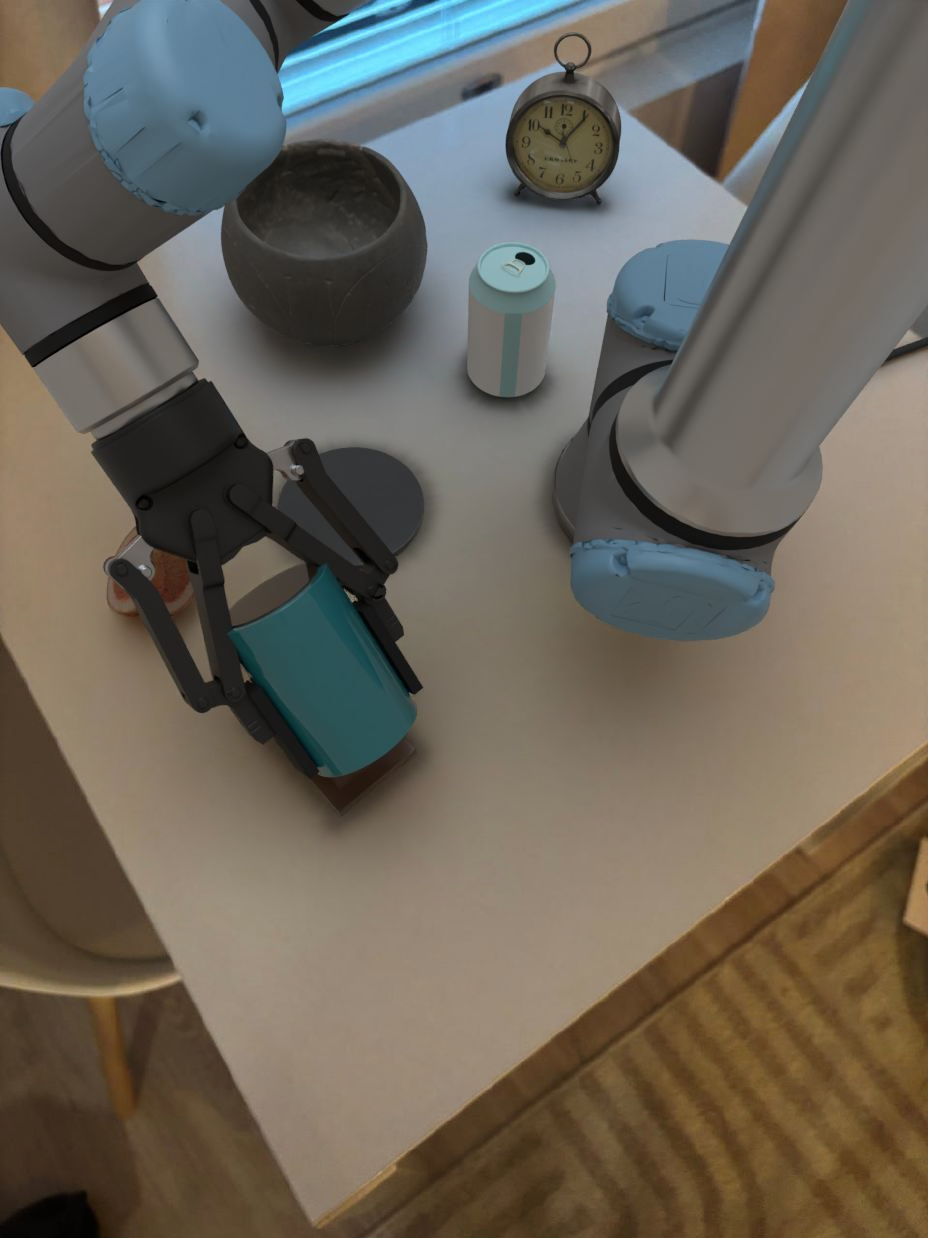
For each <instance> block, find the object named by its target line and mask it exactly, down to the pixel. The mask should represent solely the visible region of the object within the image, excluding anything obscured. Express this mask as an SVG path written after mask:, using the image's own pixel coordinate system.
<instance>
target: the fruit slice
mask: <svg viewBox="0 0 928 1238" xmlns="http://www.w3.org/2000/svg"><path fill="white" fill-rule="evenodd" d="M137 536H138V534H137V531H136V525H135V526H133V528H132V529H131V530H130V532H128V534H126V536H125V538H124V539H123V540H122V542H121V544H119V545H120V546H119V547H118V548H117V551H116V554H115V555H114V556H117V555H118V554H119V553H120V552H121V551H122V550H123V549H124V548H125V547H126V546H127V545H128V544H129V543H130V542H131V541H133V540H134V539H135V538H136V537H137ZM150 559H151V562H152V564H153V566H154V567H155V575H154V577H153V578H152V580H151V581H150V582H151V583H152V584H153V585H154V586H155V588H156V589H157V590H158V592H159V594H160V595H161V597H162V599H163V601H164V603H165V605H166V607H167V609H168V611H169V613H170V615H171V617H173V616H175V615H177V614H178V613H180V612H181V611H182V610H184V609H185V608H186V607H187V606H188V605H189V604H190V602H191V601H192V599H193V598H194V597H195V595H194V591H193V587H192V584H191V582H190V580H189V576H188V572H187V567H186V562H185V559H183V558H180V557H177V556H174V555H171V554H169V553H166V552H163V551H160V550H157V549H153V551H152V552H151V555H150ZM106 602H107V606H108V607H109V609H111V611H113V612H114V613H116V614H119V615H123V616H125V617H129V618H133V619H138V620H142V619H141V617H140V615H139V613H138V611H137V609H136V607H135V605H134V603H133V601H132V599H131V597H130V596H129V594H127V593H126V592H125V591H124V590H123V589H122V588H121V587H120V586H119V585H117V584H116V583H115V582H114V581H113V580H112V579H111V578H110V577H109V576H107V583H106Z"/></svg>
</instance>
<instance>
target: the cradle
mask: <svg viewBox="0 0 928 1238" xmlns="http://www.w3.org/2000/svg"><path fill="white" fill-rule="evenodd" d="M272 739H273V740H274V741H275V739H274V738H272ZM416 754H417V748H416V747H415V746H414V744H412V743H411V742H410V740H408V739H407V737H406V735H405V736H404V737H403V738H402V740H401V741H400V742H399V743H398V744H396V745H395V746H394V747H393V748H392V749H391V750H390V751H388V752H387V753H386V754H385V755H383V756H382V757H380V758H379V759H377V760H376V761H374V762H373V763H371V764H369V765H367V766H365V767H364V768H362V769H359V770H357V771H355V772H352V773H349V774H346V775H343V776H338V777H324V776H321V775H319V774H316V775H315V776H314V777H312V778H311V779H309V778H307V779H308V780H309V782H310V783H311V784H312V786H313V787H314V788H315V789H316V790H317V792H319V793H320V794H321V796H322V797H323V798H324V799H325V801H327V803H328V804H329V805H330V806H331V808H333V810H334V811H335V812H336V813H337V814H338V815H339V816H340V817H342V816H343V815H344V814H345V813H347V812H348V811H349V810H350V809H351V808H352V807H354V806H355V805H356V804H357V803H358V802H360V801H361V800H363V798H365V797H366V796H367V795H368V794H369V793H371V792H372V791H373V790H374V789H375V788H377V787H378V786H379V785H380V784H381V783H383V782H385V780H386V779H387V778H389V777H390V776H391V775H392V774H393V773H395V772H396V771H397V770H398V769H399V768H401V767H402V766H403V765H404V764H405V763H407V762H408V761H409V760H410V759H411V758H413V757H414V756H415V755H416Z"/></svg>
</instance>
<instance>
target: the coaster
mask: <svg viewBox="0 0 928 1238" xmlns="http://www.w3.org/2000/svg"><path fill="white" fill-rule="evenodd" d="M319 456H320V459H321V461H322V464H323V467H324V469H325V472H326V474H327V475H328V476H329V477H330V478H331V480H332V481H333V482H334V483H335V484H336V486H337V487H338V488H339V489H340V491H341V492H342V493H343V494H344V495H345V497H346V498H347V499H348V500H349V501H350V503H351V504H352V505H353V506H354V508H355V509H356V510H357V511H358V512H359V514H360V515H361V516H362V517H363V518H364V520H365V521H366V522H367V523H368V525H369V526H370V527H371V528H372V529H373V531H374V532H375V533H376V534H377V535H378V537H379V538H380V539H381V540H382V542H383V543H384V544H385V545H386V546H387V548H388V549H389V550H390V551H391V552H392V554H393V555H394V556H395V557H397V555H399V554H400V553H401V552H403V551H404V550H405V549H406V548H408V546H409V545H410V544H411V543H412V541H413V540H414V539H415V537H416V536H417V534H418V532H419V531H420V528H421V525H422V523H423V520H424V513H425V500H424V493H423V490H422V487H421V485H420V482H419V480H418V479H417V477H416V476H415V474H414V472H413V471H412V470H411V469H410V468H409V467H408V466H407V465H406V464H404V463H403V462H402V461H401V460H400V459H397V458H396V457H394V455H393V456H392V455H390V454H389V453H386V452H383V451H381V450H378V449H373V448H369V447H360V446H356V447H355V446H354V447H353V446H351V447H340V448H335V449H331V450H327V451H324V452H321V453H320V454H319ZM277 509H278V510H279V511H281V512H282V513H283V514H285V515H286V516H288V517H289V518H290V519H292V520H293V521H295V522H296V524H297V525H298V526H299V527H301V528H302V529H303V530H305V531H306V532H308V533H309V534H311V535H312V536H313V537H315V538H316V539H318V540H319V541H320V542H322V543H323V544H325V545H326V546H327V547H329V548H330V549H332V550H333V551H334V552H336V553H337V554H339V555H340V556H342V557H343V558H344V559H346V560H347V561H349V562H350V563H351V564H353V565H354V566H356V567H357V568H358V569H360V570H362V568H363V567H364V566H365V565H364V564H363V563H362V562H361V561H360V559H359V558H358V557H357V556H356V555H355V553H354V552H353V551H352V550H351V549H350V548H349V546H348V545H347V544H346V543H345V542H344V540H343V539H342V538H341V537H340V536H339V535H338V533H337V532H336V531H335V530H334V529H333V527H332V526H331V525H330V524H329V523H328V522H327V520H326V519H325V518H324V517H323V516H322V514H321V513H320V512H319V511H318V510H317V509H316V507H315V506H314V505H313V504H312V503H311V501H310V500H309V499H308V498H307V497H306V496H305V494H304V493H303V492H302V491H301V489H300V488H299V487H298V485H297V483H296V482H295V481H289V480H287V479H286V481H285V483H284V484H283V486H282V489H281V491H280V493H279V497H278V501H277Z"/></svg>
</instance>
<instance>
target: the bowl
mask: <svg viewBox="0 0 928 1238" xmlns="http://www.w3.org/2000/svg"><path fill="white" fill-rule="evenodd" d="M220 246H221V254H222V258H223V259H222V260H223V263H224V267H225V270H226V273H227V276H228V278H229V281H230V284H231V287H233V289H234V292H235V293H236V295H237V297H238V298H239V299H240V300H241V302H242V304H243V305H244V306H245V308H246V309H247V310H248V311H249V312H250V313H251V314H252V315H253V316H254V317H255V318H256V319H257V320H258V321H260V322H261V323H262V324H264V325H265V326H266V327H268V328H269V329H271V330H272V331H273V332H276V333H277V334H278V335H281V336H283V337H285V338H287V339H290V340H293V341H295V342H298V343H302V344H306V345H311V346H318V347H338V346H345V345H346V346H347V345H351V344H354V343H359V342H361V341H364V340H367V339H368V338H371V337H373V336H374V335H376V334H379V333H380V332H381V331H383V330H384V329H386V328H387V327H389V326H390V325H391V324H392V323H394V322H395V320H397V318H399V317H400V316H401V314H402V313H403V312H404V311H405V310H406V309H407V307H408V306H409V305H410V304H411V303H412V301H413V299H414V297H415V295H416V294H417V292H418V290H419V289H420V286H421V283H422V280H423V277H424V273H425V270H426V263H427V256H428V239H427V228H426V222H425V219H424V215H423V213H422V210H421V207H420V205H419V202H418V200H417V198H416V196H415V194H414V192H413V190H412V188H411V187H410V186H409V184H408V182H407V181H406V179H405V178H404V176H403V175H402V174H401V172H400V171H399V170H398V169H397V167H396V166H395V165H394V163H392V162H391V161H390V160H389V159H388V158H387V157H386V156H384V155H382V154H381V153H379V152H378V151H376V150H373V148H370V147H367V146H365V145H364V146H361V145H360V144H358V143H355V142H350V141H345V140H338V139H334V138H316V139H308V140H299V141H295V142H291V143H289V144H286V145H284V144H283V145H282V148H281V150H280V152H279V154H278V156H277V157H276V158H275V160H274V161H273V162H272V164H271V165H270V166H269V167H268V168H266V169H265V170H264V171H263V172H261V173H260V174H259V175H258V176H257V177H256V178H255V179H254V180H252V181H251V182H250V183H249V184H248V185H247V186H246V190H244V191H243V192H242V193H241V194H240V195H239V196H238V197H237V198H236V199H235V200H233V201H232V202H226V204H225V205H224V207H223V212H222V218H221V226H220Z"/></svg>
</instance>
